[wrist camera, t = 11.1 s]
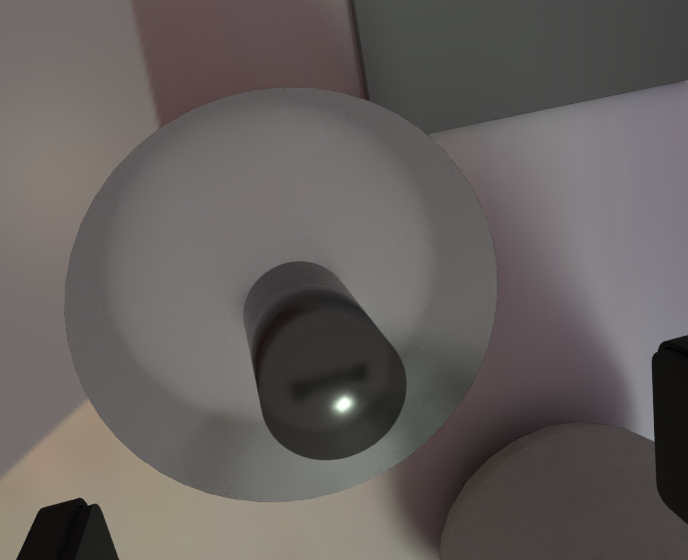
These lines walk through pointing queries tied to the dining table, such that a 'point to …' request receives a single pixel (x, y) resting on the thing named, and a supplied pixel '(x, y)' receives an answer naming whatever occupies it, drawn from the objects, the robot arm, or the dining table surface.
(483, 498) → the coffee pot
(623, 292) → the dining table surface
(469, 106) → the mat
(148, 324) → the lid
